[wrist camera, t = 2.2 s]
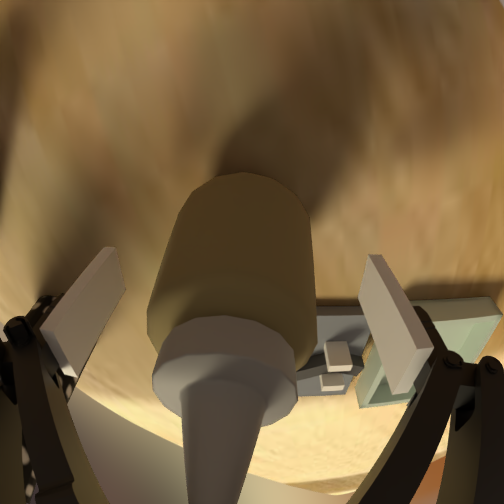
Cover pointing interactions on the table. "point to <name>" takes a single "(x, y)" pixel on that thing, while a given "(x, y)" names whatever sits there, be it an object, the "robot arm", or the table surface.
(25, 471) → the white-spotted black cylinder
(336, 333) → the grey peg board
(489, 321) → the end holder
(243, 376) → the squeeze bottle
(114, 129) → the table surface
